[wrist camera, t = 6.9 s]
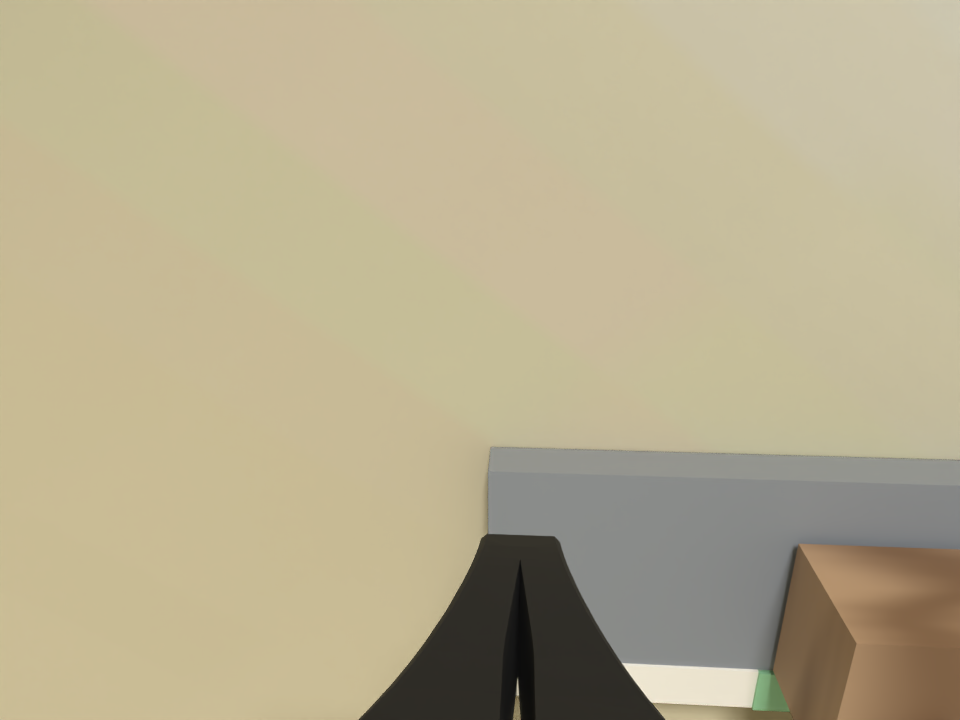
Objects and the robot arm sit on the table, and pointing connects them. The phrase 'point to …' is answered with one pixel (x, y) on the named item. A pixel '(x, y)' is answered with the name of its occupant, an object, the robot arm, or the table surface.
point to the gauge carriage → (871, 634)
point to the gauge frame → (709, 547)
